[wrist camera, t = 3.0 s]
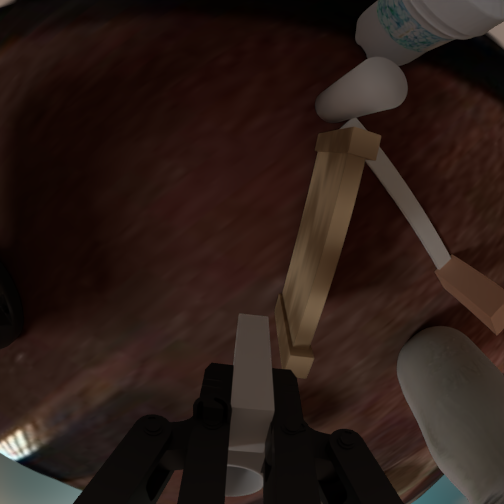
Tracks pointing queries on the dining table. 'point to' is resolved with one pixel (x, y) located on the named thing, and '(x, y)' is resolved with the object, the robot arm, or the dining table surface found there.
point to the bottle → (422, 25)
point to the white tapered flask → (457, 409)
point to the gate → (320, 240)
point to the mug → (244, 473)
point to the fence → (383, 98)
